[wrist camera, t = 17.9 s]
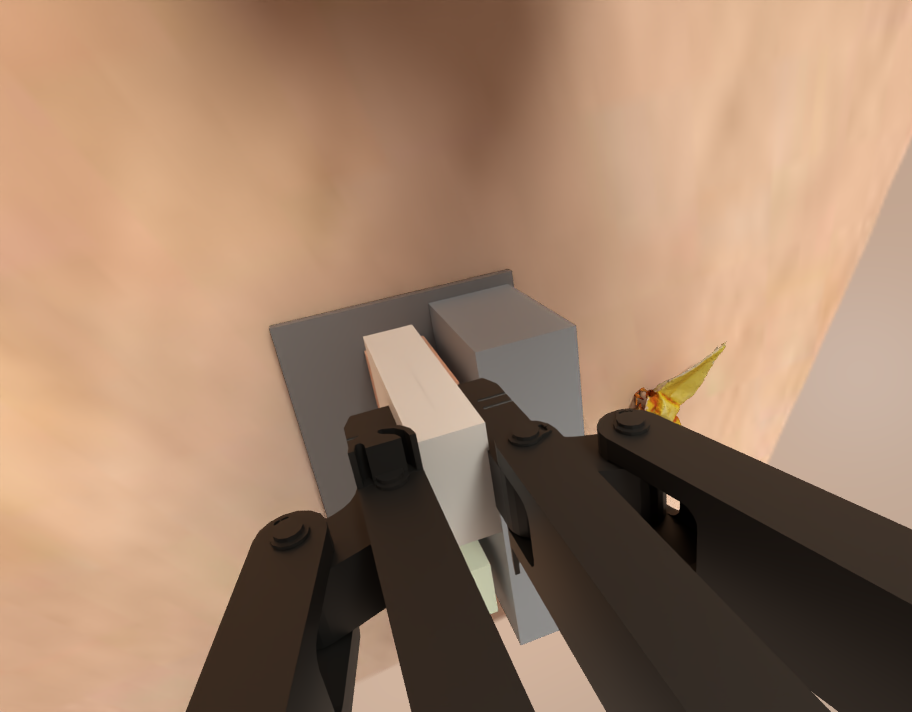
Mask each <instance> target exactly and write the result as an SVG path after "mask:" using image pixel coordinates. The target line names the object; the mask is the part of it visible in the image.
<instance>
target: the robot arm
mask: <svg viewBox="0 0 912 712" xmlns="http://www.w3.org/2000/svg"><path fill="white" fill-rule="evenodd" d="M363 339H364V343H365V347H366V352H367V356H368V360H369V364H370V368H371V372H372V377H373V381H374V385H375V389H376V393H377V398H378V402H379V406H380V408H378V409H374V410H370V411H367V412H363V413H360V414H356V415H352V416H350V417H349V419H348V421H347V423H346V425H345V427H344V432H345V436H346V440H347V444H348V457H349V460H350V464H351V468H352V471H353V475H354V478H355V482H356V486H357V490H356V493H355V495H354V497H353V498H352V500H351V501H350V502H349V503H348V504H347V505H346V506H345V507H344V508H343V509H341V510H340V511H338V512H337V513H335V514H333V515H332V516H330V517H328V518H326V519H325V518H324V517H323V516H322V515H321V514H320V513H317V512H313V511H296V512H292V513H289V514H285V515H282V516H281V517H279V518H277V519H275V520H273V521H271V522H270V523H268V524H267V525H266V526H265V527H264V528H263V529H261V530H260V531H259V533H258V534H257V536H256V537H255V539H254V540H253V542H252V545H251V547H250V550H249V552H248V555H247V557H246V560H245V563H244V565H243V568H242V570H241V573H240V575H239V578H238V580H237V583H236V585H235V588H234V590H233V593H232V595H231V598H230V601H229V603H228V606H227V608H226V611H225V613H224V616H223V618H222V621H221V623H220V626H219V628H218V631H217V634H216V636H215V639H214V641H213V644H212V646H211V649H210V651H209V654H208V656H207V659H206V661H205V664H204V666H203V669H202V672H201V674H200V677H199V679H198V682H197V684H196V687H195V689H194V692H193V694H192V697H191V699H190V702H189V705H188V707H187V710H186V712H352V703H353V695H354V686H355V677H356V669H357V660H358V651H359V643H360V629H359V626H360V625H361V624H363V623H364V622H366V621H367V620H369V619H370V618H372V617H373V616H375V615H376V614H378V613H379V612H381V611H382V610H384V609H385V608H386V609H387V613H388V617H389V621H390V625H391V629H392V633H393V638H394V642H395V646H396V650H397V654H398V658H399V662H400V666H401V670H402V675H403V679H404V683H405V687H406V691H407V695H408V699H409V703H410V708H411V712H535V711H534V709H533V707H532V705H531V702H530V700H529V698H528V696H527V694H526V691H525V689H524V687H523V685H522V683H521V681H520V678H519V676H518V674H517V672H516V670H515V667H514V665H513V663H512V661H511V659H510V656H509V654H508V652H507V650H506V648H505V646H504V644H503V641H502V639H501V637H500V635H499V632H498V630H497V628H496V626H495V624H494V622H493V619H492V617H491V615H490V613H489V611H488V609H487V606H486V604H485V602H484V600H483V598H482V595H481V593H480V591H479V589H478V587H477V585H476V582H475V580H474V578H473V576H472V574H471V571H470V569H469V567H468V565H467V563H466V561H465V558H464V556H463V554H462V552H461V550H460V548H459V546H462V545H464V544H467V543H470V542H473V541H476V540H479V539H482V538H485V537H488V536H491V535H494V534H497V533H500V532H502V528H501V521H500V515H499V512H500V514H501V516H502V517H503V519H504V521H505V522H506V524H507V528H508V535H509V541H510V548H511V554H512V561H513V567H514V571H515V575H518V574H520V567H519V563H521V565H522V566H523V568H524V570H525V572H526V573H527V575H528V577H529V579H530V580H531V582H532V584H533V586H534V587H535V589H536V591H537V592H538V594H539V596H540V598H541V599H542V601H543V603H544V605H545V606H546V608H547V610H548V611H549V613H550V615H551V617H552V618H553V620H554V622H555V624H556V625H557V627H558V629H559V631H560V632H561V634H562V635H563V637H564V639H565V641H566V642H567V644H568V646H569V648H570V650H571V651H572V653H573V655H574V657H575V658H576V660H577V662H578V663H579V665H580V667H581V669H582V670H583V672H584V674H585V676H586V677H587V679H588V681H589V682H590V684H591V686H592V688H593V689H594V691H595V693H596V695H597V696H598V698H599V700H600V702H601V703H602V705H603V706H604V708H605V710H606V712H831V711H830V710H829V709H828V708H827V707H826V706H825V705H824V704H823V703H822V702H821V701H820V700H819V699H818V698H817V697H816V696H815V695H814V694H816V695H817V696H818V697H820V698H821V699H822V700H824V701H825V702H826V703H828V704H829V705H830V706H832V707H833V708H834V709H836V710H837V711H838V712H912V530H911V529H909V528H907V527H905V526H903V525H901V524H898V523H896V522H894V521H892V520H890V519H887V518H885V517H883V516H881V515H878V514H876V513H874V512H872V511H870V510H867V509H865V508H863V507H861V506H858V505H856V504H854V503H852V502H850V501H847V500H845V499H843V498H841V497H838V496H836V495H834V494H832V493H829V492H827V491H825V490H823V489H821V488H819V487H816V486H814V485H812V484H810V483H807V482H805V481H803V480H801V479H799V478H796V477H794V476H792V475H790V474H787V473H785V472H783V471H781V470H779V469H776V468H774V467H772V466H770V465H768V464H765V463H763V462H761V461H759V460H756V459H754V458H752V457H750V456H748V455H745V454H743V453H741V452H739V451H737V450H734V449H732V448H730V447H728V446H725V445H723V444H721V443H719V442H717V441H714V440H712V439H710V438H708V437H705V436H703V435H701V434H699V433H697V432H694V431H692V430H690V429H688V428H686V427H683V426H681V425H679V424H677V423H674V422H672V421H670V420H668V419H666V418H663V417H661V416H659V415H657V414H654V413H651V412H648V411H645V410H638V409H621V410H617V411H614V412H611V413H608V414H606V415H605V416H603V417H602V418H601V419H600V420H599V422H598V424H597V433H598V434H595V435H586V436H574V437H564V436H563V435H562V434H561V433H560V432H559V431H558V430H557V429H556V428H555V427H553V426H552V425H550V424H548V423H545V422H541V421H531V420H530V419H529V418H528V417H527V416H526V415H525V413H524V412H523V411H522V410H521V409H520V408H519V407H518V406H517V405H516V404H515V403H514V401H512V400H511V398H510V397H509V396H508V395H507V394H505V392H504V391H503V389H502V388H501V387H500V386H499V385H498V384H497V383H495V382H492V381H490V380H487V379H484V378H480V379H476V380H473V381H469V382H465V383H462V384H458V385H457V384H456V383H455V382H454V380H453V379H452V378H451V376H450V375H449V373H448V372H447V371H446V369H445V368H444V367H443V365H442V364H441V363H440V361H439V360H438V359H437V357H436V356H435V355H434V353H433V352H432V351H431V349H430V348H429V347H428V345H427V344H426V343H425V341H424V340H423V339H422V337H421V336H420V335H419V333H418V332H417V331H416V329H415V328H414V327H413V325H408V326H404V327H400V328H396V329H392V330H388V331H384V332H380V333H376V334H372V335H368V336H364V337H363ZM666 494H668V495H669V496H671V497H673V498H675V499H676V500H678V501H680V510H676V509H674V508H672V507H670V506H669V505H667V504H666ZM811 691H812V692H813V693H814V694H813V693H812V692H811Z"/></svg>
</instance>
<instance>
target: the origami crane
mask: <svg viewBox="0 0 912 712" xmlns="http://www.w3.org/2000/svg"><path fill="white" fill-rule="evenodd" d="M725 344H726V342H725V343H723V344H721V345H722V346H721V347H719V348H718V347H716V349H715V350H714V352H712V353H711V354H710V355H709V356H707V357H706V358H704V359H703V360H702V361H701V362H699V363H698V364H696V365H695V366H693V367H691V368H690V369H688V370H687V371H685V372H683V373H682V374H680V375H678V376H676V377H674V378H672V379H670V380H667V381H665V382H663V383H662V384H659V385H658V386H657V387H656V388H655V389H654V390H648V391H646V390H645V389H644V388H641V389H640V390H641V391H642V392H646V398H647V399H646V400H647V402H646V404H645V405H646V408H645V411H648V412H651V413H654V414H657V415H659V416H661V417H663V418H666V419H668V420H670V421H672V422H674V423H677V424H679V425H681V423H680V420H679V418H678V417H677V416H676V414H677V413H678V411H679V410H680V409H679V408H680V405H681V404H683V403H684V402H685V401H686V400H687V399H689V398H690V397H692V396H693V395H694V393H695V392H696V391H697V389H698V388H699V387H700V386H701V384H702V383H703V381H704V378H705V377H706V376H707V373H708V371H709V370H710V368H711V367H712V366H713V364H714V361H715V360H716V359H717V358H718V356H719V354H721V352H722V351H723V350H724V348H725V347H726V346H725ZM717 348H718V349H717ZM640 390H639V391H638V392H637V393H636V394H635V396H636V405H637V401H638V400H637V398H640V395H639V394H638V393H640ZM640 399H643V398H640ZM643 400H644V399H643ZM636 409H638V410H644V409H643V408H642V406H641V403H640V404H639V406H638V408H636Z"/></svg>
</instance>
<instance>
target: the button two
mask: <svg viewBox="0 0 912 712" xmlns="http://www.w3.org/2000/svg"><path fill="white" fill-rule="evenodd" d="M459 548H460V550H461V552H462V554H463V556H464V558H465V561H466V563H467V565H468V567H469V569H470V571H471V574H472V576H473V578H474V580H475V582H476V585H477V587H478V589H479V591H480V593H481V595H482V598H483V600H484V602H485V604H486V606H487V609H488V611H489V613H490V614H492V613H495V612H498V606H497V600H496V595H495V589H494V583H493V577H492V571H491V566H490V563H489V561H488V559H487V557H486V555H485V553H484V551H483V549H482V547H481V545H480V543H479V541H478V540H476V541H473V542H470V543H467V544H464V545H462V546H459Z"/></svg>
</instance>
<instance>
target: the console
mask: <svg viewBox="0 0 912 712" xmlns="http://www.w3.org/2000/svg"><path fill="white" fill-rule="evenodd" d="M408 325H413V327H414V328H415V329H416V331H417V332H418V333H419V335H420V336H424V337H425V338H426V340H427V341H428V342H429V344H430V345H431V346H432V347H433V349H434V350H435V351H436V353H437V354H438V355H439V357H440V358H441V359H442V361H443V362H444V363H445V364H446V366H447V367H448V368H449V370H450V371H451V372H452V374H453V375H454V376H455V377H456V379H457V380H458V381H459V384H462V383H465V382H469V381H473V380H476V379H480V378H484V379H487V380H490V381H492V382H495V383H497V384H498V385H499V386H500V387H501V388H502V389H503V391H504V392H505V394H507V395H508V396H509V397H510V398H511V400H512V401H514V403H515V404H516V405H517V406H518V407H519V408H520V409H521V410H522V411H523V412H524V413H525V415H526V416H527V417H528V418H529V419H530V420H531V421H541V422H545V423H548V424H550V425H552V426H553V427H555V428H556V429H557V430H558V431H559V432H560V433H561V434H562V435H563V436H564V437H574V436H585V435H584V422H583V409H582V396H581V383H580V370H579V357H578V344H577V331H576V325H574V324H573V323H571V322H569V321H568V320H566V319H565V318H563V317H561V316H560V315H558V314H556V313H555V312H553V311H551V310H550V309H548V308H547V307H545V306H543V305H542V304H540V303H538V302H537V301H535V300H533V299H532V298H530V297H529V296H527V295H525V294H524V293H522V292H520V291H519V290H517V289H515V288H514V284H513V276H512V271H511V270H509V269H507V270H502V271H498V272H494V273H490V274H486V275H481V276H477V277H473V278H469V279H465V280H460V281H456V282H452V283H448V284H444V285H439V286H435V287H431V288H427V289H423V290H418V291H414V292H410V293H406V294H402V295H397V296H393V297H389V298H385V299H381V300H376V301H372V302H368V303H364V304H360V305H355V306H351V307H347V308H343V309H339V310H334V311H330V312H326V313H322V314H318V315H313V316H309V317H305V318H301V319H297V320H292V321H288V322H284V323H280V324H276V325H271V326H269V330H270V333H271V337H272V340H273V343H274V346H275V349H276V353H277V356H278V359H279V362H280V366H281V369H282V372H283V375H284V379H285V382H286V385H287V388H288V391H289V395H290V398H291V401H292V404H293V408H294V411H295V414H296V417H297V421H298V424H299V427H300V430H301V434H302V437H303V440H304V443H305V446H306V450H307V453H308V456H309V459H310V463H311V466H312V469H313V472H314V476H315V479H316V482H317V485H318V488H319V492H320V495H321V498H322V501H323V505H324V508H325V511H326V514H327V518H328V517H330V516H332V515H333V514H335V513H337V512H338V511H340V510H341V509H343V508H344V507H345V506H346V505H347V504H348V503H349V502H350V501H351V500H352V498H353V497H354V495H355V493H356V490H357V486H356V482H355V478H354V475H353V471H352V468H351V464H350V460H349V457H348V444H347V440H346V436H345V432H344V427H345V425H346V423H347V421H348V419H349V417H350V416H352V415H356V414H360V413H363V412H367V411H370V410H374V409H378V406H377V403H376V399H375V394H374V390H373V386H372V382H371V378H370V374H369V370H368V365H367V361H366V357H365V353H364V351H365V350H366V347H365V343H364V339H363V337H364V336H368V335H372V334H376V333H380V332H384V331H388V330H392V329H396V328H400V327H404V326H408ZM499 515H500V521H501V528H502V532H500V533H497V534H494V535H491V536H488V537H485V538H482V539H479V540H478V541H479V543H480V545H481V547H482V549H483V551H484V553H485V555H486V557H487V559H488V561H489V563H490V566H491V571H492V577H493V583H494V589H495V594H496V596H497V598H498V600H499V602H500V604H501V606H502V608H503V610H504V612H505V614H506V616H507V618H508V620H509V622H510V624H511V626H512V628H513V630H514V632H515V634H516V636H517V639H518V641H519V643H520V645H523V644H525V643H528V642H531V641H533V640H536V639H538V638H541V637H543V636H546V635H549V634H551V633H554V632H556V631H559V629H558V627H557V625H556V624H555V622H554V620H553V618H552V617H551V615H550V613H549V611H548V610H547V608H546V606H545V605H544V603H543V601H542V599H541V598H540V596H539V594H538V592H537V591H536V589H535V587H534V586H533V584H532V582H531V580H530V579H529V577H528V575H527V573H526V572H525V570H524V568H523V566H522V565H521V563H519V567H520V574H518V575H515V571H514V567H513V561H512V554H511V548H510V541H509V535H508V528H507V524H506V522H505V521H504V519H503V517H502V516H501V514H500V512H499Z"/></svg>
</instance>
